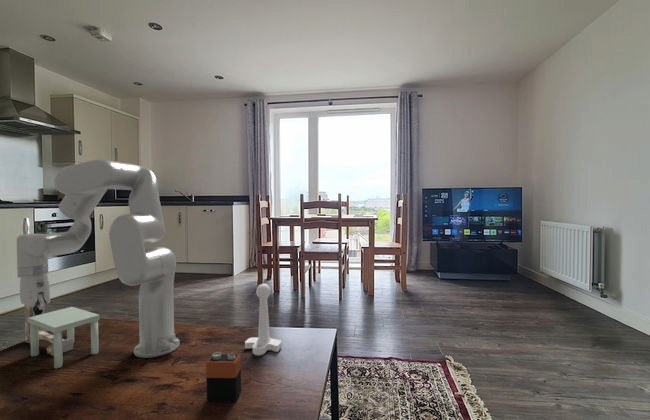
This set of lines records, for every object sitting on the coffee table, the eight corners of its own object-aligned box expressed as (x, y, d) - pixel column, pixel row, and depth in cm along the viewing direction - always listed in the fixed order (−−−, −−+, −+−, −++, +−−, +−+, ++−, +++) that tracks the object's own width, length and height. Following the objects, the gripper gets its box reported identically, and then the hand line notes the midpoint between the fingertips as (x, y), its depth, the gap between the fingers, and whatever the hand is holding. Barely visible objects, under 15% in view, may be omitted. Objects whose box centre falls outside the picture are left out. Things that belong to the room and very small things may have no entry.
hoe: (73, 349, 96) (72, 304, 96) (53, 356, 92) (52, 309, 92) (42, 336, 106) (41, 295, 106) (23, 342, 102) (22, 299, 102)
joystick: (283, 346, 97) (282, 283, 96) (274, 358, 89) (273, 289, 89) (251, 343, 99) (250, 281, 99) (239, 354, 92) (238, 287, 92)
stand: (100, 352, 94) (99, 314, 94) (55, 369, 85) (54, 327, 84) (72, 341, 102) (72, 306, 102) (29, 355, 93) (28, 317, 92)
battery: (213, 391, 74) (213, 349, 74) (241, 391, 74) (241, 349, 73) (206, 402, 70) (205, 358, 69) (235, 403, 69) (235, 359, 69)
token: (71, 349, 97) (71, 344, 97) (51, 355, 92) (50, 351, 92) (64, 345, 99) (63, 341, 99) (44, 352, 95) (43, 347, 95)
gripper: (58, 270, 102) (60, 325, 103) (36, 266, 110) (38, 317, 110) (28, 275, 96) (30, 334, 96) (7, 270, 103) (9, 325, 104)
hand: (34, 325), depth 103 cm, fingers closed on hoe, 3 cm apart
